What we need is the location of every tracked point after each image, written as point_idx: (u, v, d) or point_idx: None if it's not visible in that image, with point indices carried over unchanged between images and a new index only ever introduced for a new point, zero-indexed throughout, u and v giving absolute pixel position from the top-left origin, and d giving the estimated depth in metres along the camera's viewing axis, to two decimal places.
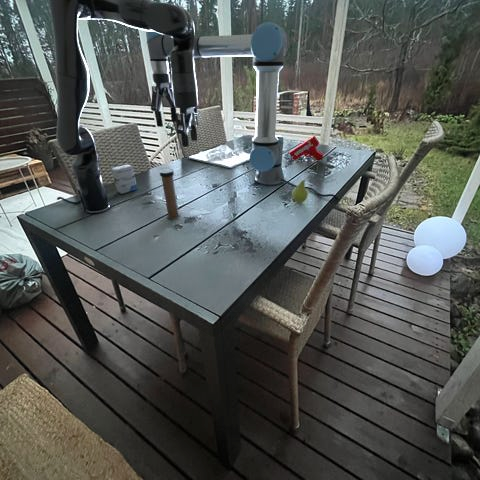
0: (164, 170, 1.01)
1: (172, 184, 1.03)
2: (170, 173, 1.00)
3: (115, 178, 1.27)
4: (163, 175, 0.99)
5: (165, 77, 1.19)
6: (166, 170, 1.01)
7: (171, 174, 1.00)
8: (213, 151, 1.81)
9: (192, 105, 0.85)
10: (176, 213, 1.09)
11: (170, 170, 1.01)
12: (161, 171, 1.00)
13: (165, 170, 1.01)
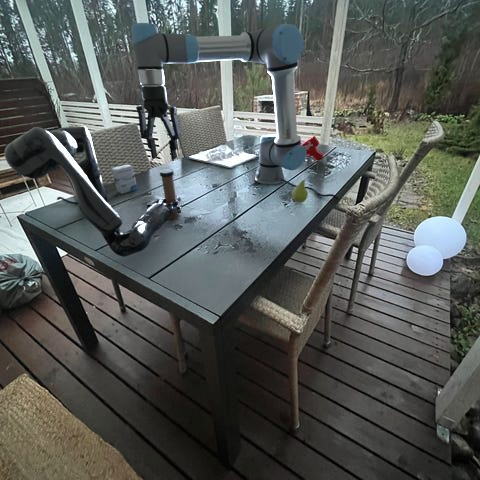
0: (164, 170, 1.01)
1: (172, 184, 1.03)
2: (170, 173, 1.00)
3: (115, 178, 1.27)
4: (163, 175, 0.99)
5: (143, 91, 0.84)
6: (166, 170, 1.01)
7: (171, 174, 1.00)
8: (213, 151, 1.81)
9: None
10: (176, 213, 1.09)
11: (170, 170, 1.01)
12: (161, 171, 1.00)
13: (165, 170, 1.01)
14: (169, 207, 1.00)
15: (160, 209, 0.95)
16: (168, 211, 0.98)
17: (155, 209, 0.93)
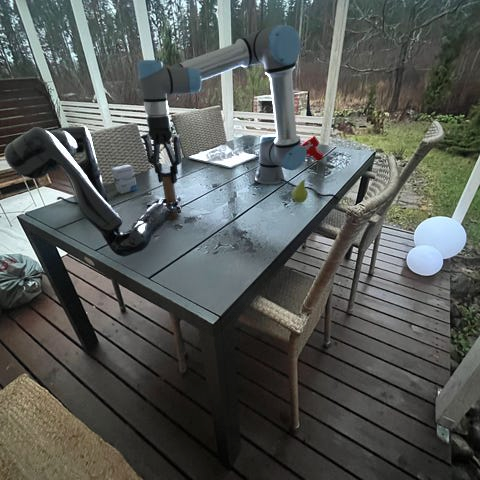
0: (164, 170, 1.01)
1: (172, 184, 1.03)
2: (170, 173, 1.00)
3: (115, 178, 1.27)
4: (163, 175, 0.99)
5: (149, 121, 0.89)
6: (166, 170, 1.01)
7: None
8: (213, 151, 1.81)
9: None
10: (176, 213, 1.09)
11: None
12: (161, 171, 1.00)
13: (165, 170, 1.01)
14: (169, 207, 1.00)
15: (160, 209, 0.95)
16: (168, 211, 0.98)
17: (155, 209, 0.93)
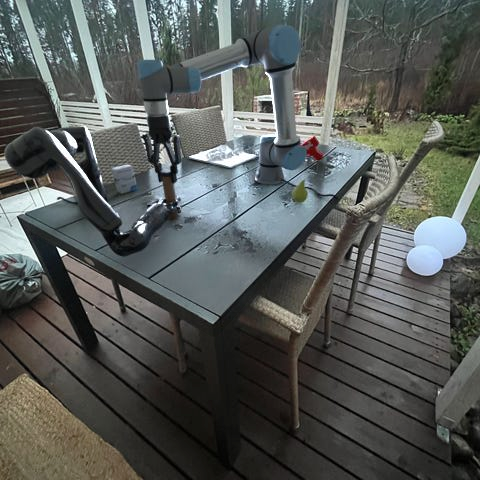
0: (164, 171, 1.00)
1: (172, 184, 1.03)
2: None
3: (115, 178, 1.27)
4: None
5: (149, 121, 0.89)
6: (164, 170, 1.01)
7: None
8: (213, 151, 1.81)
9: None
10: (176, 213, 1.09)
11: (166, 169, 1.02)
12: (166, 172, 0.99)
13: (164, 170, 1.00)
14: (169, 207, 1.00)
15: (160, 209, 0.95)
16: (168, 211, 0.98)
17: (155, 209, 0.93)
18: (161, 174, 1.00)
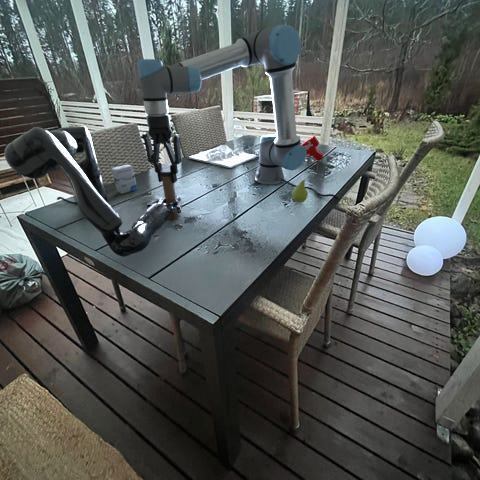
0: (167, 170, 1.00)
1: (172, 184, 1.03)
2: None
3: (115, 178, 1.27)
4: None
5: (148, 121, 0.89)
6: (165, 170, 1.00)
7: None
8: (213, 151, 1.81)
9: None
10: (176, 213, 1.09)
11: (162, 170, 1.01)
12: None
13: (166, 170, 1.00)
14: (169, 207, 1.00)
15: (160, 209, 0.95)
16: (168, 211, 0.98)
17: (155, 209, 0.93)
18: (170, 173, 1.00)
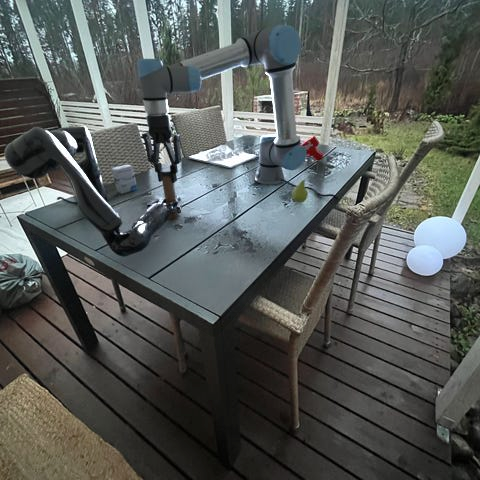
0: (168, 169, 1.01)
1: (172, 184, 1.03)
2: (160, 172, 1.00)
3: (115, 178, 1.27)
4: None
5: (148, 120, 0.89)
6: (167, 170, 1.00)
7: (160, 173, 1.00)
8: (213, 151, 1.81)
9: None
10: (176, 213, 1.09)
11: (165, 171, 0.99)
12: (167, 168, 1.02)
13: (168, 169, 1.01)
14: (169, 207, 1.00)
15: (160, 209, 0.95)
16: (168, 211, 0.98)
17: (155, 209, 0.93)
18: None
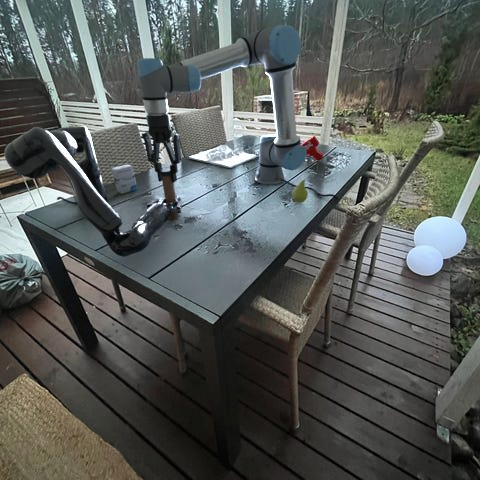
0: (165, 169, 1.01)
1: (172, 184, 1.03)
2: (167, 172, 0.99)
3: (115, 178, 1.27)
4: (160, 173, 1.00)
5: (148, 120, 0.89)
6: (166, 169, 1.01)
7: (168, 174, 0.99)
8: (213, 151, 1.81)
9: None
10: (176, 213, 1.09)
11: None
12: (161, 169, 1.01)
13: (166, 169, 1.01)
14: (169, 207, 1.00)
15: (160, 209, 0.95)
16: (168, 211, 0.98)
17: (155, 209, 0.93)
18: None
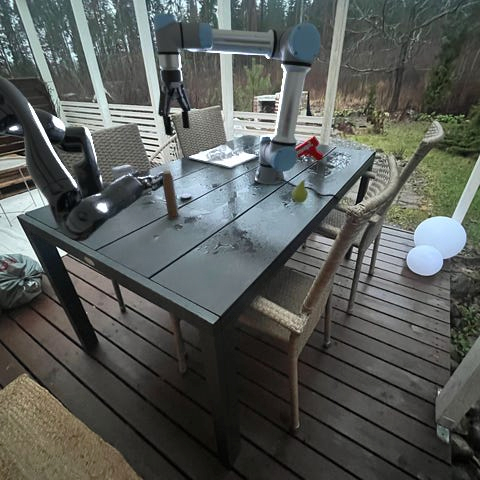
0: (186, 196, 1.24)
1: (172, 184, 1.03)
2: None
3: None
4: None
5: (177, 74, 0.97)
6: (185, 196, 1.24)
7: None
8: (213, 151, 1.81)
9: None
10: (176, 213, 1.09)
11: (182, 195, 1.25)
12: (189, 196, 1.24)
13: (185, 196, 1.24)
14: (142, 181, 0.81)
15: (129, 182, 0.75)
16: (140, 186, 0.78)
17: (122, 182, 0.74)
18: (186, 199, 1.23)
